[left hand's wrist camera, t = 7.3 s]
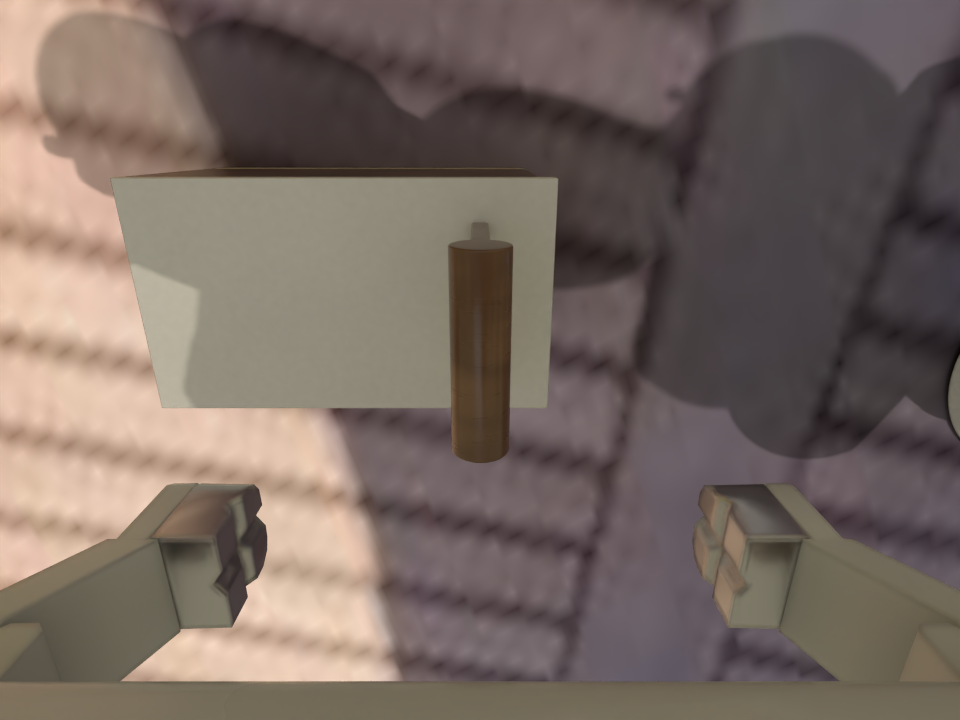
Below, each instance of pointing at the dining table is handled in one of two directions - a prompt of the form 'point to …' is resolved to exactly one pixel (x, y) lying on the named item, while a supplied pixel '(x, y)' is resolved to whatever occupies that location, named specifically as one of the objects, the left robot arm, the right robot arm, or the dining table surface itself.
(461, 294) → the lid
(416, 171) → the chest
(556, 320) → the dining table surface
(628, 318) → the dining table surface
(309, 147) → the dining table surface
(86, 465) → the dining table surface
